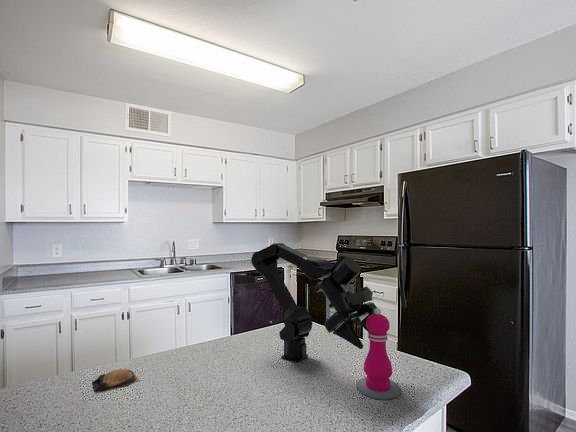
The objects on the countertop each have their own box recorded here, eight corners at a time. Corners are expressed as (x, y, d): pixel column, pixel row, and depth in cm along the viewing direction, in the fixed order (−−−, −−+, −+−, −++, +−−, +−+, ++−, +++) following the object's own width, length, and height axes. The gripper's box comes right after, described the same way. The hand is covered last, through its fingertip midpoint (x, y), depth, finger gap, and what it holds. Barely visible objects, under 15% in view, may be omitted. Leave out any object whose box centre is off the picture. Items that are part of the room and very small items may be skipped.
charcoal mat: (349, 391, 83) (349, 389, 83) (365, 375, 92) (365, 373, 92) (393, 404, 76) (393, 402, 76) (405, 386, 86) (405, 383, 86)
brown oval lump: (132, 373, 94) (132, 360, 94) (140, 384, 87) (141, 370, 87) (89, 384, 87) (90, 370, 87) (95, 396, 80) (95, 381, 80)
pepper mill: (385, 379, 88) (385, 304, 89) (397, 392, 81) (396, 311, 82) (359, 380, 87) (359, 305, 88) (369, 393, 80) (369, 311, 81)
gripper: (334, 281, 83) (373, 335, 75) (371, 274, 97) (407, 319, 89) (310, 306, 89) (344, 359, 81) (348, 297, 102) (380, 341, 94)
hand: (371, 343), depth 86 cm, fingers open, 9 cm apart
